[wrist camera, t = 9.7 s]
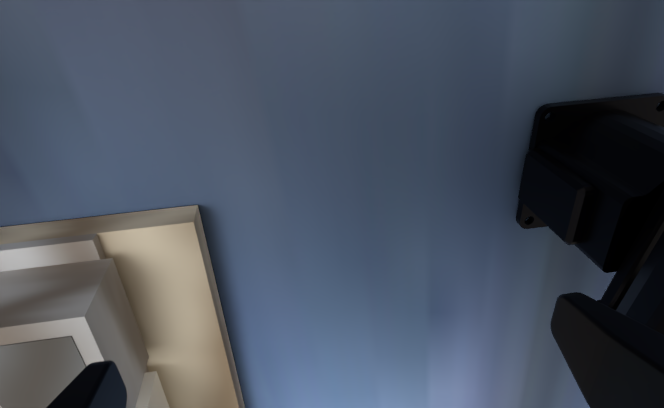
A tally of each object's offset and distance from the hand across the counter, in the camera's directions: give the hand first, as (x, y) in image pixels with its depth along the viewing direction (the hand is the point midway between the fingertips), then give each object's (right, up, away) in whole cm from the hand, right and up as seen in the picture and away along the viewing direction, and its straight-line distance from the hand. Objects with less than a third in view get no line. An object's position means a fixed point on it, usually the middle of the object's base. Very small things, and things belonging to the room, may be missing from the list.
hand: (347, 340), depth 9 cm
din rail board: (-12, -7, +16) cm, 21 cm away
